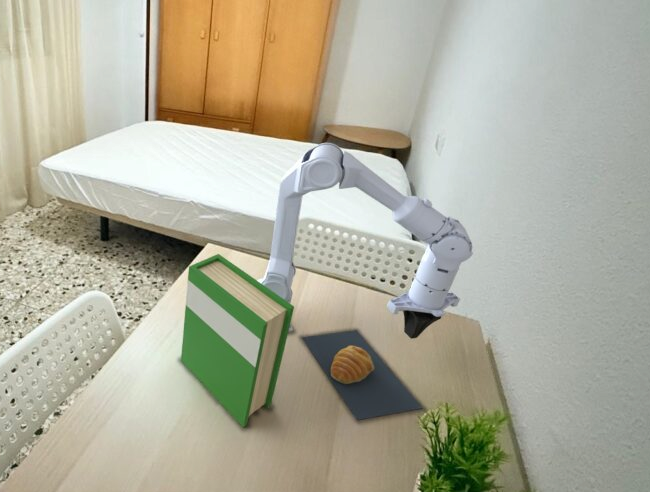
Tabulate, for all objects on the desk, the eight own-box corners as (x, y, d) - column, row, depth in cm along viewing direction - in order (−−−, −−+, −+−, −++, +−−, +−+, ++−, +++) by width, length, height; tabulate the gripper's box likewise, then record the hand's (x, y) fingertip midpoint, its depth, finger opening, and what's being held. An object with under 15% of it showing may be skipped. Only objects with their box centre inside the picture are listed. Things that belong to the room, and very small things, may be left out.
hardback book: (270, 405, 75) (294, 306, 65) (243, 427, 71) (263, 325, 61) (207, 345, 88) (218, 253, 77) (180, 360, 84) (188, 266, 73)
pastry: (352, 395, 78) (356, 381, 76) (320, 371, 82) (324, 358, 81) (374, 370, 83) (379, 357, 81) (344, 350, 88) (348, 337, 86)
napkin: (301, 337, 91) (301, 337, 91) (356, 330, 93) (356, 329, 93) (357, 420, 73) (357, 419, 73) (422, 408, 76) (422, 407, 76)
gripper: (415, 299, 71) (393, 354, 77) (483, 291, 74) (456, 345, 80) (387, 274, 77) (369, 327, 83) (451, 267, 80) (428, 319, 86)
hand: (410, 334), depth 82 cm, fingers closed
